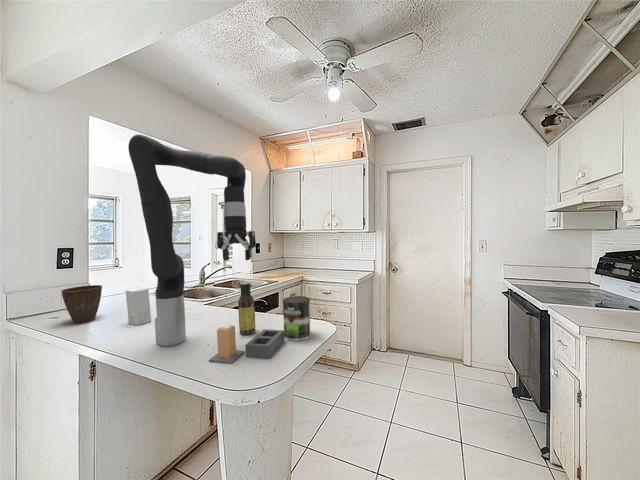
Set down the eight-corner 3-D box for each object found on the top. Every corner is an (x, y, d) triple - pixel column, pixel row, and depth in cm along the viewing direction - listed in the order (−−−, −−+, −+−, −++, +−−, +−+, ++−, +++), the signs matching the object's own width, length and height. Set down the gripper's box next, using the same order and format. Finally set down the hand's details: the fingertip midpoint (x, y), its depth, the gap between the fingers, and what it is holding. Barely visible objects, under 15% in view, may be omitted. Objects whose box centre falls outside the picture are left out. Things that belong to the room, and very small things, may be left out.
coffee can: (304, 342, 100) (303, 303, 100) (279, 339, 104) (277, 301, 103) (315, 332, 110) (313, 296, 110) (291, 329, 114) (290, 295, 113)
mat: (208, 361, 88) (208, 359, 88) (223, 350, 95) (223, 349, 95) (231, 363, 86) (231, 361, 86) (244, 352, 94) (244, 350, 94)
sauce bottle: (257, 333, 111) (255, 283, 110) (242, 336, 108) (240, 285, 107) (252, 328, 116) (250, 281, 116) (237, 332, 113) (235, 283, 112)
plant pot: (59, 323, 132) (56, 289, 132) (97, 314, 145) (95, 283, 144) (69, 328, 124) (66, 292, 123) (109, 319, 136) (106, 286, 136)
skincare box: (151, 321, 130) (149, 288, 129) (135, 326, 124) (133, 291, 124) (142, 319, 134) (140, 287, 134) (127, 323, 129) (125, 289, 128)
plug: (218, 357, 89) (216, 327, 89) (225, 351, 93) (224, 323, 93) (229, 358, 88) (227, 328, 88) (236, 352, 92) (234, 324, 92)
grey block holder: (245, 357, 90) (245, 344, 90) (264, 339, 104) (263, 329, 104) (268, 358, 88) (268, 346, 88) (284, 341, 102) (284, 330, 102)
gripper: (257, 215, 103) (259, 258, 104) (223, 216, 106) (225, 259, 107) (248, 214, 96) (250, 261, 96) (211, 215, 99) (213, 261, 100)
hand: (237, 260), depth 102 cm, fingers open, 8 cm apart
